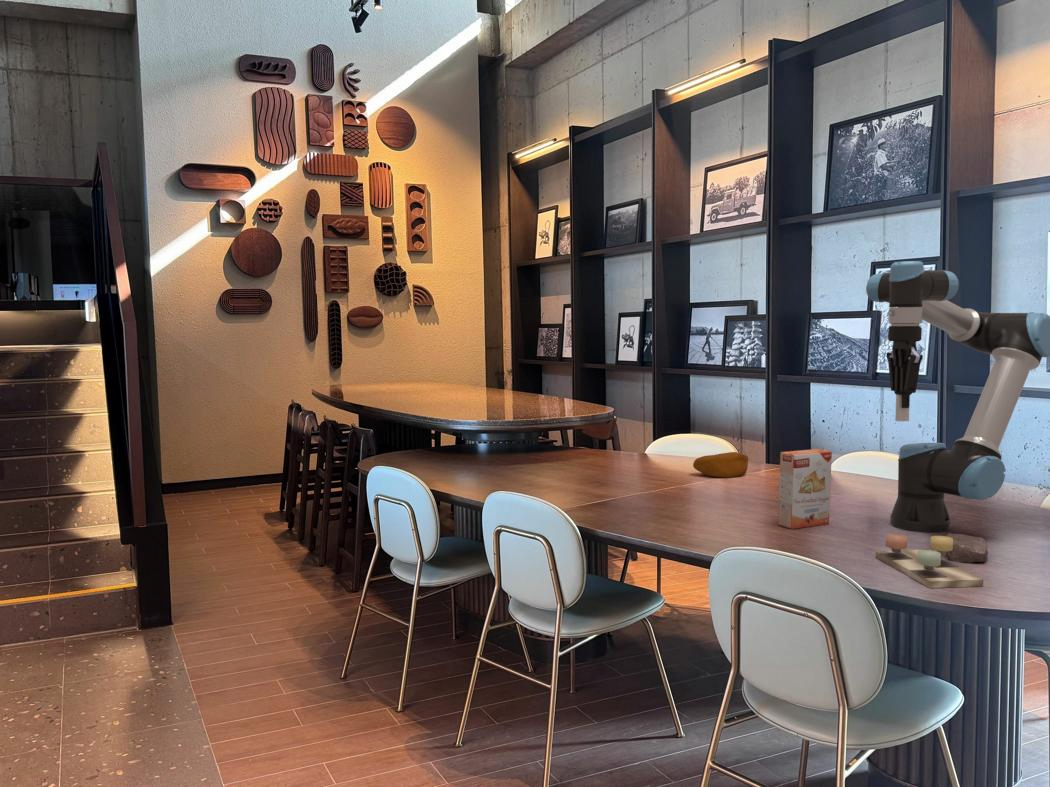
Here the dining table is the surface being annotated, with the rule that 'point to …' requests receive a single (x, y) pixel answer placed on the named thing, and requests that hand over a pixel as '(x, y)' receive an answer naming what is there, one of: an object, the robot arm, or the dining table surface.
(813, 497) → the cracker box
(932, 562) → the sage button
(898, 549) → the terracotta button
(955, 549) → the stone
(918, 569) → the board
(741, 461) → the bread
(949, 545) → the ochre button
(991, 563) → the dining table surface
